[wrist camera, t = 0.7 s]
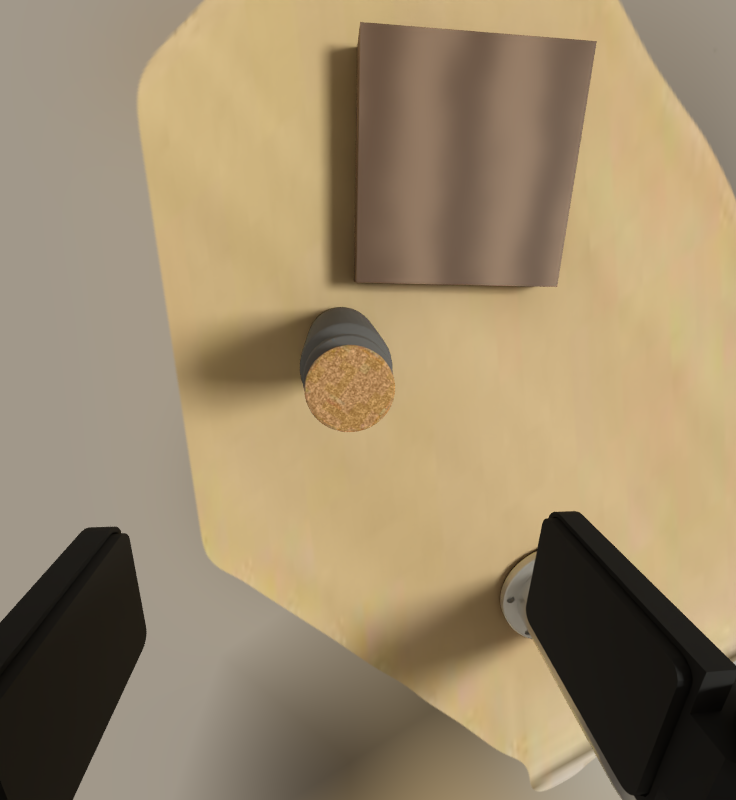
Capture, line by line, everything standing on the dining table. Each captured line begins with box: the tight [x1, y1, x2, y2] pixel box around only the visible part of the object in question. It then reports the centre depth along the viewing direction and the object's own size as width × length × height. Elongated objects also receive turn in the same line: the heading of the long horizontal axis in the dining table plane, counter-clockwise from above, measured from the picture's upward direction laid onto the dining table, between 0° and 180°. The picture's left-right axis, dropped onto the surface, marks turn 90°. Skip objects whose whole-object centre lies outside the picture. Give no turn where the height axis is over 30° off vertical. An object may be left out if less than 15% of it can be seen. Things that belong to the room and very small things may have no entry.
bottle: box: [300, 307, 395, 432], centre depth 28 cm, size 6×6×15 cm
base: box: [354, 22, 597, 287], centre depth 31 cm, size 16×16×3 cm
